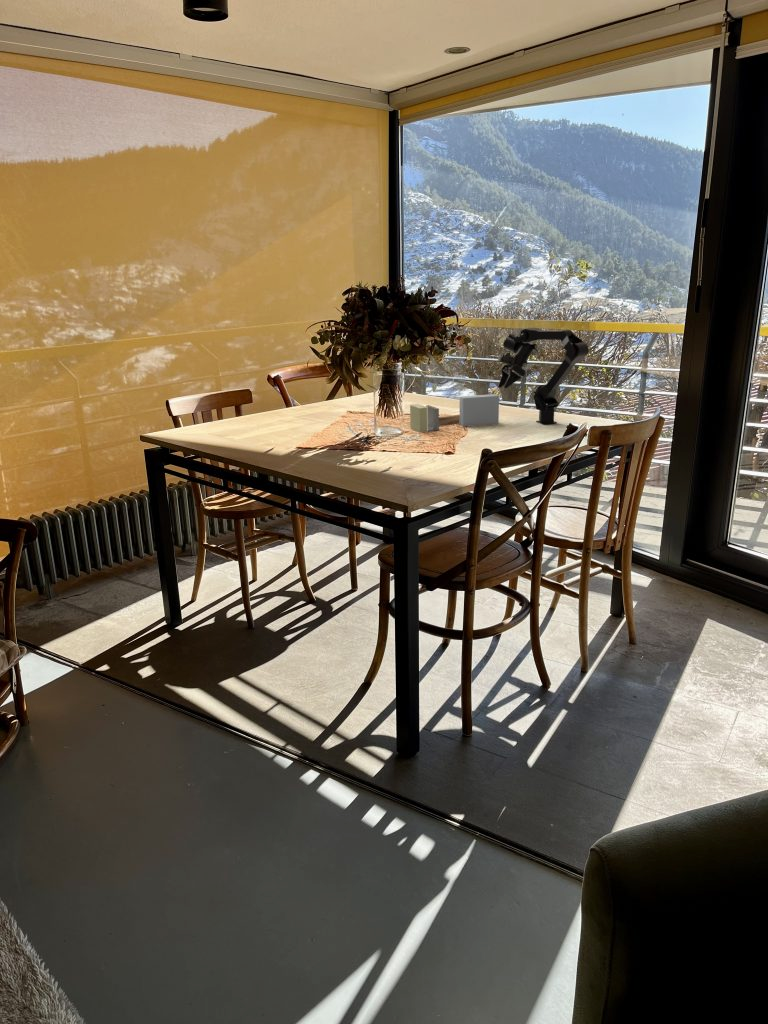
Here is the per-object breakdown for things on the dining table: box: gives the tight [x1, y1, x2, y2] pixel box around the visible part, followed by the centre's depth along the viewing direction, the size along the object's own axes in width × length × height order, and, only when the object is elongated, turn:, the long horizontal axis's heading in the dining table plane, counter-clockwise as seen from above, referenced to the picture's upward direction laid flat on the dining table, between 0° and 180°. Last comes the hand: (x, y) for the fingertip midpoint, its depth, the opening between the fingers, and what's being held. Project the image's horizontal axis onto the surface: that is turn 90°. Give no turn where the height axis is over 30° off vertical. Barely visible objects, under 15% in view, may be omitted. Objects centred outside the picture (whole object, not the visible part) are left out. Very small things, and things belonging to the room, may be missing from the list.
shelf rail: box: [439, 414, 460, 426], centre depth 335 cm, size 2×30×3 cm, turn 114°
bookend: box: [425, 404, 440, 432], centre depth 322 cm, size 9×6×9 cm
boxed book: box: [458, 393, 500, 427], centre depth 329 cm, size 16×5×12 cm, turn 103°
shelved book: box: [409, 403, 429, 433], centre depth 321 cm, size 9×4×10 cm, turn 23°
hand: (501, 387), depth 331 cm, fingers open, 9 cm apart
